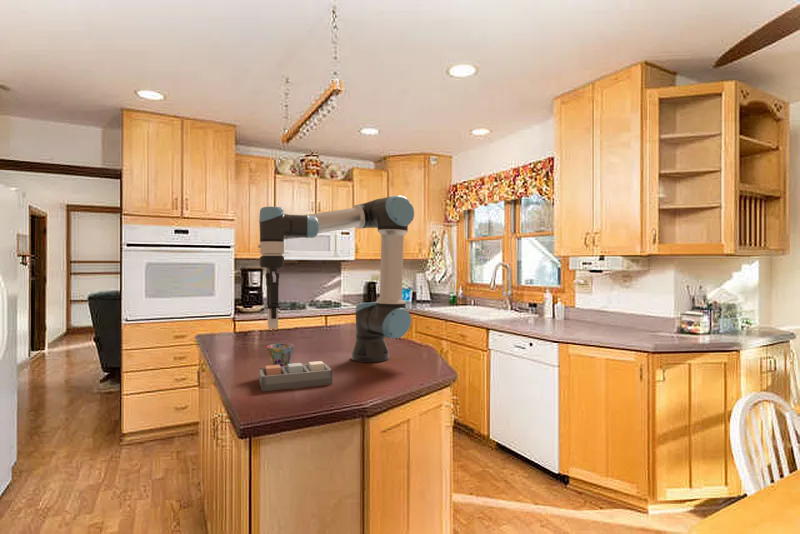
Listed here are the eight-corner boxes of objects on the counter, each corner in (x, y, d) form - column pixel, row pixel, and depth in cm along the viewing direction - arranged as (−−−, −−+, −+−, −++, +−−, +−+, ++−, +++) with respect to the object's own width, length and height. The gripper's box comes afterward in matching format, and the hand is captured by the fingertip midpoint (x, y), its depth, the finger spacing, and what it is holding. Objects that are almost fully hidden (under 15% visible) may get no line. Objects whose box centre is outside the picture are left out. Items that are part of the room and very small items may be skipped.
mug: (296, 377, 157) (295, 347, 157) (268, 380, 154) (267, 349, 154) (291, 370, 168) (291, 341, 168) (265, 372, 165) (264, 343, 165)
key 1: (279, 371, 151) (279, 364, 151) (281, 374, 147) (281, 367, 147) (265, 373, 149) (265, 365, 149) (266, 376, 145) (266, 368, 145)
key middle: (300, 369, 153) (300, 362, 153) (303, 372, 149) (303, 365, 149) (287, 371, 152) (287, 363, 152) (289, 374, 148) (289, 366, 148)
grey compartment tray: (324, 375, 160) (324, 362, 160) (332, 384, 149) (332, 370, 149) (259, 381, 152) (258, 368, 152) (262, 391, 141) (261, 376, 141)
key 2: (321, 368, 156) (321, 361, 156) (324, 370, 152) (324, 363, 152) (308, 369, 154) (308, 362, 154) (311, 372, 150) (311, 364, 150)
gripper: (257, 255, 154) (258, 325, 154) (262, 254, 138) (262, 332, 138) (280, 255, 156) (281, 323, 157) (287, 254, 141) (288, 330, 141)
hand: (272, 327), depth 148 cm, fingers open, 4 cm apart
